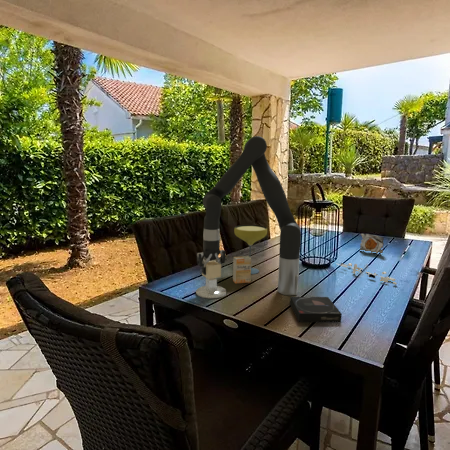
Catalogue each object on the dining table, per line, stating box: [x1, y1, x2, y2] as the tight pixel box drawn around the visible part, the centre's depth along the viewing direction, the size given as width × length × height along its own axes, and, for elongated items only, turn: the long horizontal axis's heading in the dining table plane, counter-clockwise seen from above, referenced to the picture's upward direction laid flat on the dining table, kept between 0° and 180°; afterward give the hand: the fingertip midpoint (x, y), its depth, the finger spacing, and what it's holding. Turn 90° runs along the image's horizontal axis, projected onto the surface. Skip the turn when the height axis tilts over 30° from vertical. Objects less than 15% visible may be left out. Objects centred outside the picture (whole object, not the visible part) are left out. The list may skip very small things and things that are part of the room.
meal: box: [359, 233, 385, 253], centre depth 230 cm, size 15×4×13 cm, turn 53°
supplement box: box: [232, 255, 252, 285], centre depth 173 cm, size 8×5×13 cm, turn 105°
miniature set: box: [335, 262, 398, 286], centre depth 187 cm, size 6×35×12 cm
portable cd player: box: [289, 296, 342, 323], centre depth 140 cm, size 16×17×4 cm
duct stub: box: [195, 277, 227, 300], centre depth 158 cm, size 14×14×7 cm
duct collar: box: [201, 260, 222, 279], centre depth 157 cm, size 7×7×6 cm
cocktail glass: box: [233, 224, 268, 275], centre depth 188 cm, size 18×18×25 cm
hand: (211, 273), depth 157 cm, fingers closed on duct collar, 6 cm apart
